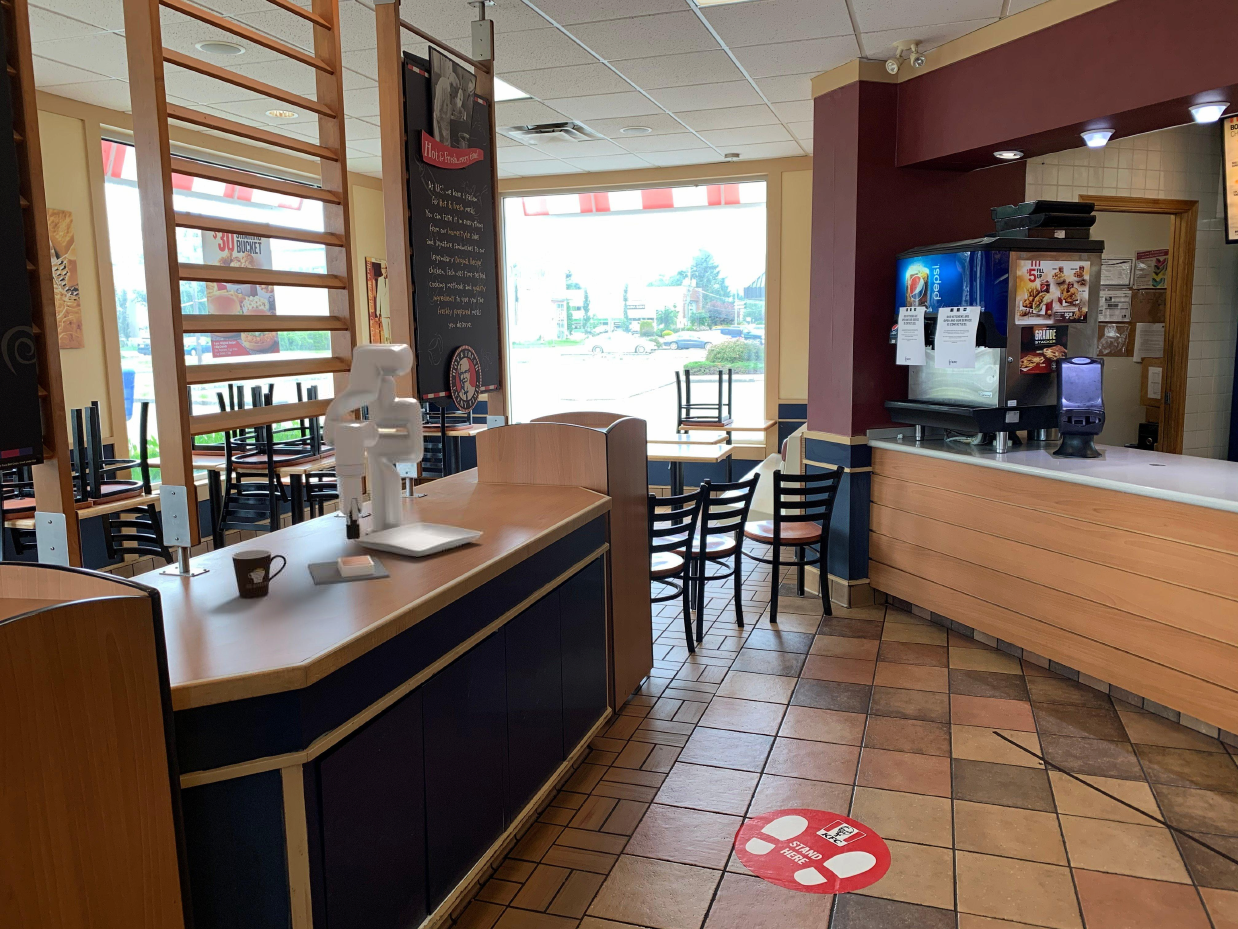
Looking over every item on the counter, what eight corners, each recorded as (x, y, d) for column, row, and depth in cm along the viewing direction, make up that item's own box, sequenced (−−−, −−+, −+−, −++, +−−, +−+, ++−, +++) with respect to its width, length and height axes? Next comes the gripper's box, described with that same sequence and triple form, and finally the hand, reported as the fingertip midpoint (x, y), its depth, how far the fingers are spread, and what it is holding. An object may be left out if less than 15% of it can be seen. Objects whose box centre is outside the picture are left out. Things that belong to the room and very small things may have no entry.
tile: (337, 557, 232) (341, 566, 223) (368, 554, 235) (374, 563, 226) (338, 567, 233) (342, 576, 224) (369, 564, 236) (374, 573, 227)
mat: (308, 566, 236) (308, 563, 236) (376, 559, 244) (376, 557, 244) (316, 584, 218) (316, 582, 218) (389, 576, 226) (389, 574, 226)
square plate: (420, 532, 279) (419, 520, 278) (485, 543, 264) (484, 531, 264) (352, 549, 257) (351, 536, 256) (418, 562, 242) (418, 549, 241)
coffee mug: (231, 601, 205) (229, 559, 203) (237, 591, 213) (234, 551, 212) (284, 597, 208) (282, 556, 206) (288, 587, 216) (286, 548, 215)
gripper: (332, 467, 235) (335, 534, 238) (339, 475, 222) (342, 546, 224) (360, 465, 238) (363, 531, 241) (369, 473, 225) (372, 543, 227)
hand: (353, 538), depth 233 cm, fingers closed
